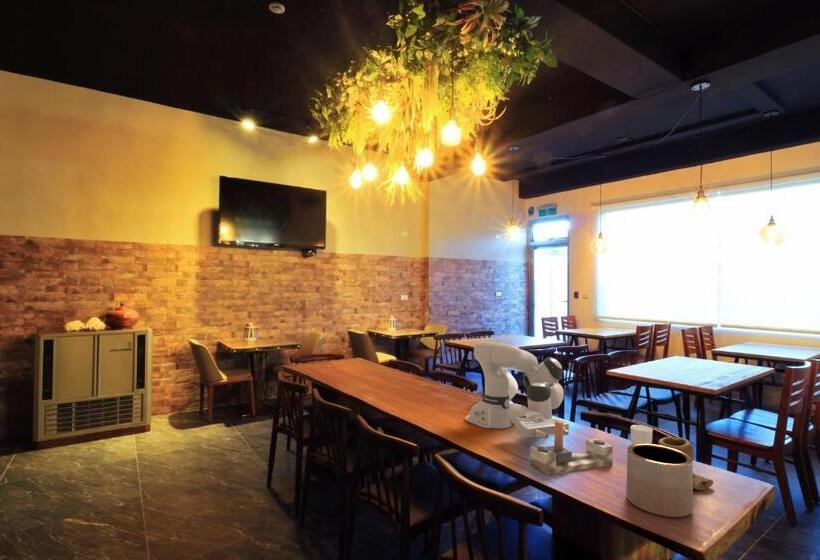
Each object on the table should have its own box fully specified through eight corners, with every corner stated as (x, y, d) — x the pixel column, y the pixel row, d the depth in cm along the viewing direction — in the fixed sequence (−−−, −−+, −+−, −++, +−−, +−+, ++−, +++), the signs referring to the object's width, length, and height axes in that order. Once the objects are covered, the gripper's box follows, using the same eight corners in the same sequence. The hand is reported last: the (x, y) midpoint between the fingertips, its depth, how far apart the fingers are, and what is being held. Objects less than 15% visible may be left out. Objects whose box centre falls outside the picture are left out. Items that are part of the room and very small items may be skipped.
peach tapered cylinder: (557, 465, 156) (558, 425, 156) (545, 458, 163) (546, 419, 163) (571, 463, 158) (572, 424, 158) (558, 456, 165) (559, 418, 165)
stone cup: (650, 479, 151) (650, 436, 152) (666, 471, 158) (666, 430, 159) (698, 497, 139) (699, 450, 139) (714, 488, 146) (714, 443, 146)
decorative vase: (518, 400, 254) (518, 357, 254) (517, 408, 237) (518, 362, 237) (487, 397, 259) (488, 355, 259) (484, 405, 242) (485, 360, 242)
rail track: (545, 475, 153) (545, 454, 153) (530, 465, 161) (530, 445, 162) (612, 465, 163) (612, 445, 163) (594, 456, 172) (595, 437, 172)
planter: (676, 526, 122) (677, 470, 122) (614, 500, 136) (615, 450, 136) (702, 508, 132) (703, 456, 132) (643, 486, 146) (643, 439, 147)
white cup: (640, 457, 171) (641, 431, 172) (625, 449, 179) (626, 425, 179) (656, 455, 174) (657, 430, 174) (641, 448, 181) (641, 424, 181)
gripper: (555, 428, 180) (579, 439, 167) (512, 433, 173) (534, 446, 160) (555, 412, 180) (579, 423, 167) (513, 417, 173) (534, 429, 160)
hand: (556, 434), depth 163 cm, fingers open, 8 cm apart
